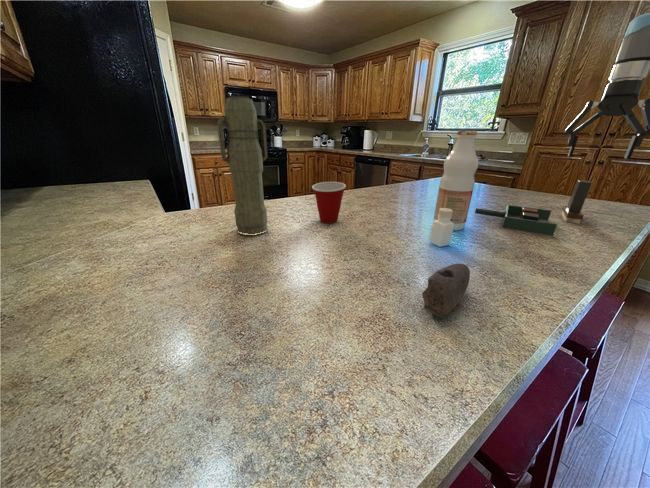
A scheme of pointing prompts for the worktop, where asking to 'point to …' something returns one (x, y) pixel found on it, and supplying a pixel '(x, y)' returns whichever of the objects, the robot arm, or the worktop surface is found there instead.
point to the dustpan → (522, 223)
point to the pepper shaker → (442, 228)
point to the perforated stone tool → (446, 289)
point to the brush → (576, 202)
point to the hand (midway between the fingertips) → (596, 157)
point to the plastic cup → (329, 200)
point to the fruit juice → (458, 179)
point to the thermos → (245, 163)
